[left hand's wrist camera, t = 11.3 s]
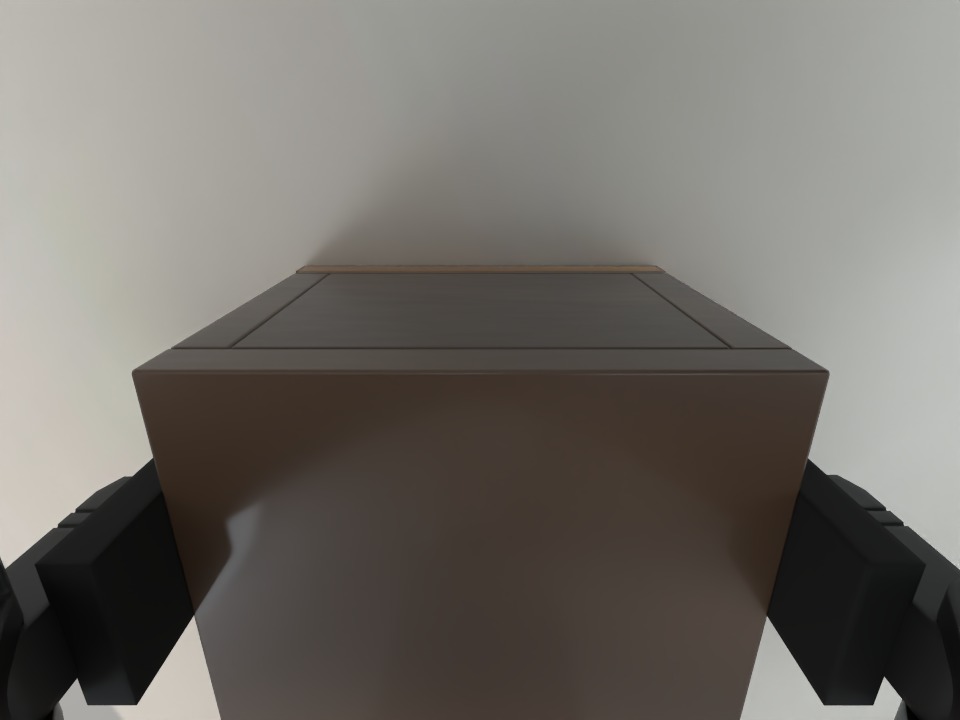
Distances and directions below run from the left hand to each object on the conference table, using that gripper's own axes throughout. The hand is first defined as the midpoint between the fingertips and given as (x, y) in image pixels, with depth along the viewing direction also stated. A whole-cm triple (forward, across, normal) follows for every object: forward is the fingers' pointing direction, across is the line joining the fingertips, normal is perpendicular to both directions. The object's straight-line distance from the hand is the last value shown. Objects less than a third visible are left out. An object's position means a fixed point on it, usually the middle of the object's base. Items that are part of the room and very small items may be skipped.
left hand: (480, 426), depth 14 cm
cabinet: (+3, 0, -3) cm, 5 cm away
